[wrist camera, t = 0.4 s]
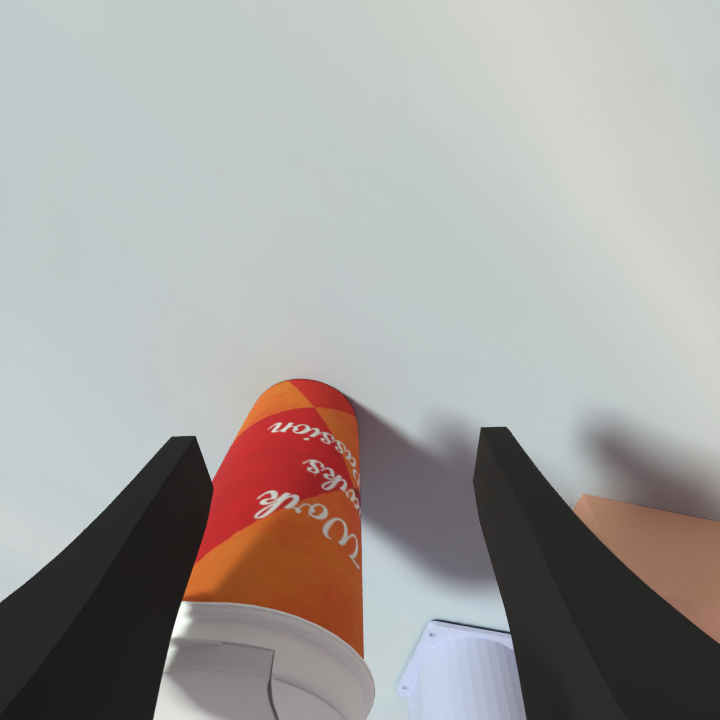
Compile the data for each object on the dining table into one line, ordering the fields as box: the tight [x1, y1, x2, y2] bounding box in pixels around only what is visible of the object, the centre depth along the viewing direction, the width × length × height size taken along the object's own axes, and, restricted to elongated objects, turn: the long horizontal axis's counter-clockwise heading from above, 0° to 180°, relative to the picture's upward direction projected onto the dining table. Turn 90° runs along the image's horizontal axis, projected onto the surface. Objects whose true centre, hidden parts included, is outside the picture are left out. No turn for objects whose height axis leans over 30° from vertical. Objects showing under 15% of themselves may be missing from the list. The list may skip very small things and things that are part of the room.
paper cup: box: [153, 379, 375, 720], centre depth 19 cm, size 8×8×14 cm
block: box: [573, 494, 720, 644], centre depth 25 cm, size 10×4×6 cm, turn 77°
